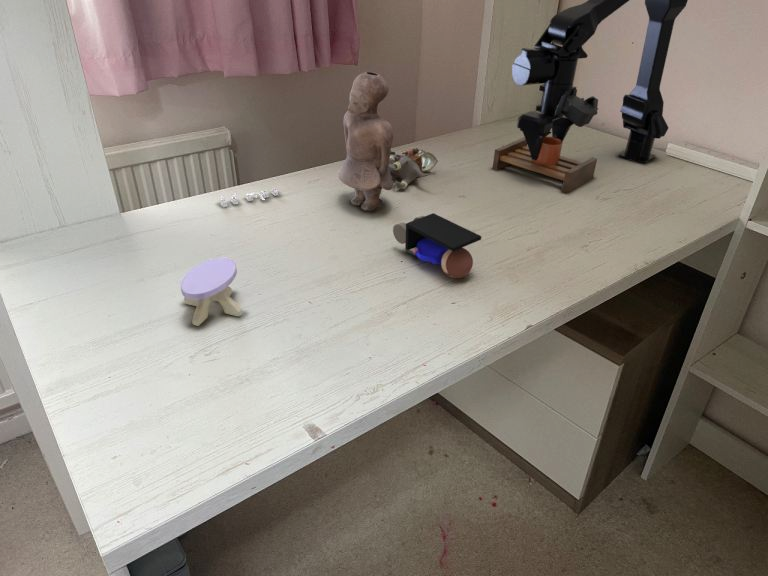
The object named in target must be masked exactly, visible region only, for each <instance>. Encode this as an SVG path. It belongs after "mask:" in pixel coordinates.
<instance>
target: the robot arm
mask: <svg viewBox="0 0 768 576" xmlns="http://www.w3.org/2000/svg"><path fill="white" fill-rule="evenodd" d="M629 1H630V0H586V1H584V2H583V3H581V4H577V5H573V6H570V7H567V8H566V9H564V10H562V11H559V12H558V13H556V14H555V15H554V16H553V17H551V19H550V21H549V25H548V26H547V27H546V29H545V30H544V31H543V33H542V34H541V36H540V37H539V39H538V40H537V42H536V43H535V44H534V48H529V47H522V48H521V50H520V54H519V55H518V56H517V57H515V59H514V61H513V63H512V65H511V76H512V79H513V82H514V83H515V84H516V85H517V86H520V87H521V86H531V85H539V89H538V91H540V92H542V95H541V100H540V103H539V104H537V105H535V106H536V107H535V111H532V110H531V111H528V112H525V113H523V114H521V115H520V116H518V117H517V122H516V128H517V129H519V131H521V132H522V134H523V138H525V139H526V142H527V146H528V148H529V151H530V154H531V157H532V159H533V160H537V159H538V157H539V154H540V150H541V147H542V144H543V140H544V138H545V137H546V136H549V135H551V137H555V138H558V139H560V140H561V141H562V142H563V143H564V140H565V138H566V136H567V134H568V133H569V130H570V129H571V127H572V126H573V125H575V126H577V127H578V128H582V127H584V126H586V125H589V124H590V123H591V121H592V119H593V118H594V116H597V115H598V110H599V108H598V105H599V99H598V98H597V97H595V96H594V95H592V96H589V97H587V98H586V99H585V98H584V97H579V96H577V93H578V89H577V86H574V83H575V76H576V72H577V68H578V67H577V66H578V61H579V60H581V59H587V58H588V56H589V55H588V54H587V52H586V51H585V50H584V48H583V46H584V45H585V44H586V43H587V42H588V41H589V40H590V39H591V38H592V37H593V36H594V35H595V33H596V31H597V29H598V26H599V25H600V24H601V23H602V22H603V21H605V20H606V19H607V18H609V16H611V15H612V14H614V13H615V12H617V10H619V9H620V8H622V7H623V6H625V4H627V3H628V2H629ZM687 4H688V0H644V6H645V8H646V12H647V15H648V24H647V29H646V32H645V33H646V34H645V37H644V44H643V48H642V54H641V59H640V64H639V67H638V68H639V69H638V74H637V77H636V84H635V86H634V88H633V89H632V90H631V92H630V93H629V94H625V95H623V97H622V106H621V108H620V111H619V112H620V113H621V119H622V125H623V129H628V130H629V135H628V139H627V143H626V147H625V150H624V151H622V152H620V153H619V154H618V157H619V158H623V159H626V160H630V161H632V162H633V161H634V162H636V163H640V164H647V163H648V162H650V161H652V160H653V159H654V158H655V157H656V155H655V154H653V153H652V151H653V147H654V144H655V141H656V140H655V139H661V138H662V137H665V136H666V134H667V132H668V130H669V126H668V123H667V122H666V119H665V118H664V116H663V115H664V114H663V112H664V105H665V104H664V99H663V96H662V92H661V84H662V79H663V74H664V70H665V65H666V61H667V57H668V52H669V48H670V43H671V38H672V34H673V29H674V25H675V22H676V19H677V18H678V16H680V14H681V13H682V12H683V10H684V9H685V8H686V6H687Z"/></svg>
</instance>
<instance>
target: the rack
mask: <svg viewBox="0 0 768 576" xmlns="http://www.w3.org/2000/svg"><path fill="white" fill-rule="evenodd" d="M492 161H493V162H492V168H491V169H492V170H495V171H498V170H500V169H503V168H505V167H507V166H509V165H512V166H516V167H520V168H523V169H526V170H529V171H532V172H535V173H538V174H541V175H545V176H547V177H551V178H554V179H556V180H559V181H562V187H561V193H562V194H563V193H564V194H568V193H570V192H572V191H574V190H575V189H577V188H578V187H580V186H582V185H585V184H586V183H587V182H589V181H591V180H592V179H594V176H595V171H596V167H597V164H598V163H597V162H598V158H597V157H593V156H592V157H590V158H588V159H587V160H584V161H583V162H582V161H579V160H576V159H572V158H569V157H565V156H562V155H560V158H559V162H558V164H556V165H541V164H537V163H535V162H533V161H532V157H531V154H530V151H529V148H528V145H527V142H526V139H525V137H520V138H519V139H517V140H515V141H512V142H509V143H507V144H505V145H503V146H500V147H498V148H496V149H494V154H493V160H492Z"/></svg>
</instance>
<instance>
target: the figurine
mask: <svg viewBox="0 0 768 576" xmlns="http://www.w3.org/2000/svg"><path fill="white" fill-rule="evenodd" d="M438 162H439V160H438V159H437V157H436V156H435V155H434V154H433V153H431V152H430V151H426V150H424V149H419V148H418V147H414V148H411V149H410V148H409V149H408V150H402V151H401V154H396V151H394V150H391V152H390V160H389V165H388V168H389V171H390V175H391V178H392V180H393V179H395V178H398V179H399V180H401V181H397V180H396V182H394V186H395V187H394V188H395V189H401V190H402V189H403V190H405V189H407V187H408V185H409V184H410V183H412V182H413V181H414V180H415V179H416V178H417V177H419V178H425V177H428V176H431V175H434V173H433V172H431V173H426V172H429V171H431V170H432V169H434V168H435V166H436V165H437V163H438Z"/></svg>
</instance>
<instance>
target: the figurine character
mask: <svg viewBox="0 0 768 576" xmlns="http://www.w3.org/2000/svg"><path fill="white" fill-rule="evenodd" d="M392 233H393V236H394V238H395V240H396V241H397V242H398V244H401V245H404V244H405V245H404V250H405V252H406V253H408V254H410V255H411V256H414V257H417V258H418V259H419V260H420V261H425V262H430V263H432V265H440V266H441V270H442V271H443V272H444V274H445V275H447V276H448V277H450V278H453V279H461V278H463V277H466V276H467V275H468V274H469V273H470V272H471V271H472V269H473V265H474V259H473V256H472V254H471V252H470V251H468V249H466V248H465V247H467V246H470V245H472V244H474V243H477V242H479V241H481V240H482V235H480V234H477V233H476V232H473V231H472V230H469V229H468V228H465V227H464V226H461V225H459V224H458V223H455V222H452V221H450V220H448V219H447V218H445V217H443V216H440V215H438V214H436V213H434V212H433V213H430V214H427V215H420V216H416V217H415V218H413V220H411V221H409V222H403V221H402V222H399V223H396V224H394V226H393V227H392Z"/></svg>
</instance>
